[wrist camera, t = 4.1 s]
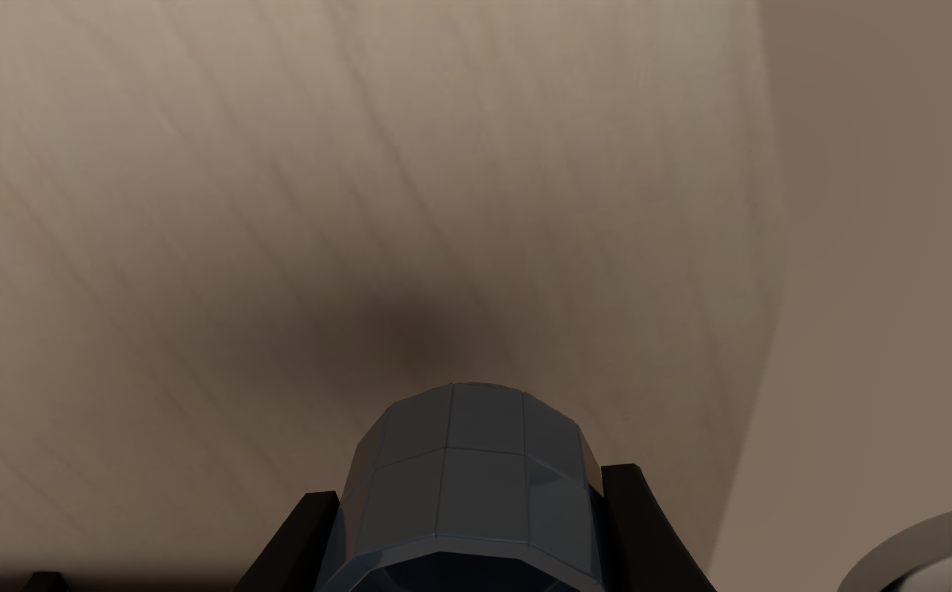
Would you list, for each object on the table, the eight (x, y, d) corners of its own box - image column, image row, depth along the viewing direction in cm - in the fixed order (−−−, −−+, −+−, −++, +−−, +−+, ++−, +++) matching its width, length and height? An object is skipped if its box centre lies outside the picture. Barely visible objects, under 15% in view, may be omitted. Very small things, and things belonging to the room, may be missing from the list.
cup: (642, 446, 13) (692, 629, 10) (500, 568, 15) (498, 754, 12) (445, 325, 12) (421, 485, 8) (319, 476, 14) (257, 655, 10)
